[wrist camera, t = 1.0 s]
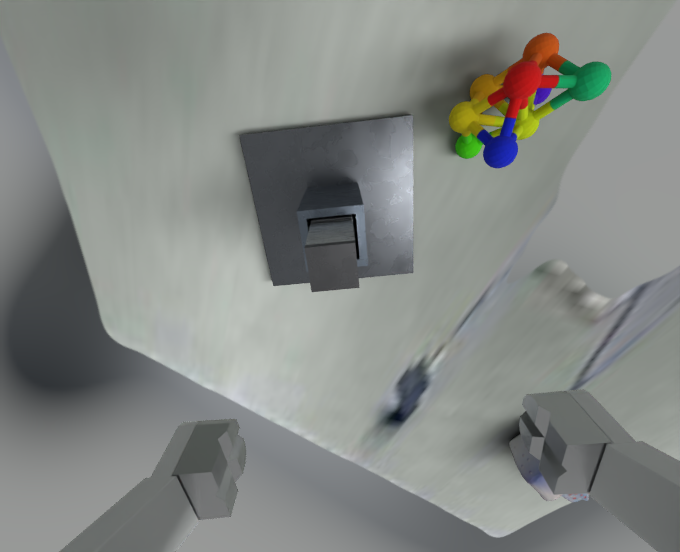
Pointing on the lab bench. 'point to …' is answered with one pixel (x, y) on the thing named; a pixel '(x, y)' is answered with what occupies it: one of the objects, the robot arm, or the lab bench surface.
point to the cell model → (536, 472)
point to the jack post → (332, 253)
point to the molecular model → (521, 100)
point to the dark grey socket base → (335, 192)
